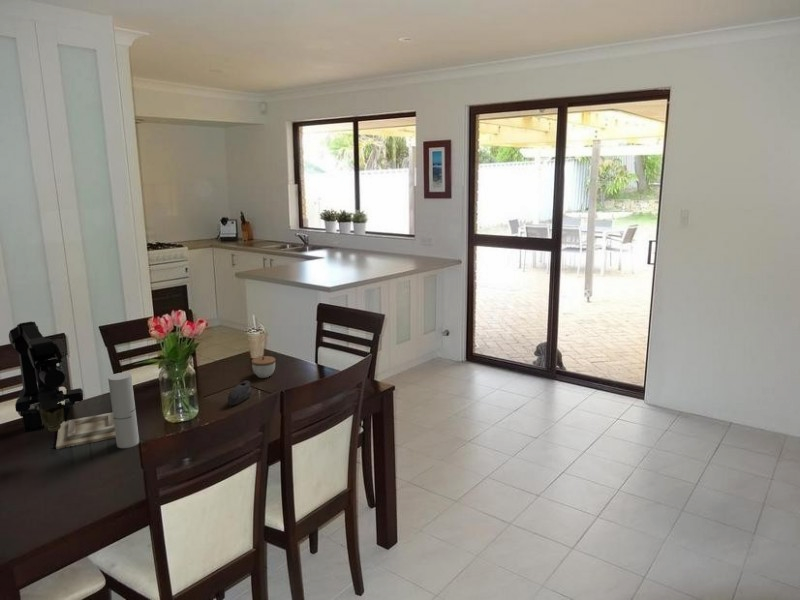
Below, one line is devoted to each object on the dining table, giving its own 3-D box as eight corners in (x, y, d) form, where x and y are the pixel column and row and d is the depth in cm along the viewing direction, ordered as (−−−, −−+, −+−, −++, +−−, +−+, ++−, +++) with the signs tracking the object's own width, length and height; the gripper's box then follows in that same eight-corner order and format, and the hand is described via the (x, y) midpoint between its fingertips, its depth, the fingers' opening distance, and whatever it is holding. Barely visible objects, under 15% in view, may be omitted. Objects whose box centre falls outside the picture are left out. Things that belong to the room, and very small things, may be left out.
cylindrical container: (143, 440, 201) (136, 373, 195) (128, 449, 194) (119, 380, 188) (127, 437, 203) (119, 371, 197) (112, 446, 196) (103, 378, 191)
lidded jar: (273, 379, 258) (272, 360, 256) (249, 379, 259) (248, 360, 257) (278, 371, 269) (277, 352, 267) (256, 371, 269) (254, 352, 267)
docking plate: (56, 449, 194) (55, 442, 194) (59, 424, 213) (58, 418, 213) (127, 435, 204) (126, 428, 204) (124, 413, 223) (123, 407, 223)
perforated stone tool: (234, 409, 227) (232, 393, 225) (223, 407, 228) (221, 391, 227) (255, 395, 241) (254, 380, 239) (245, 394, 242) (243, 378, 241)
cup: (40, 436, 183) (37, 413, 181) (42, 427, 189) (39, 405, 187) (67, 431, 186) (63, 408, 184) (68, 422, 192) (65, 401, 191)
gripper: (9, 393, 172) (17, 440, 176) (79, 382, 181) (85, 427, 184) (14, 381, 182) (21, 426, 185) (80, 371, 191) (86, 414, 194)
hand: (54, 423), depth 187 cm, fingers closed on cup, 6 cm apart
